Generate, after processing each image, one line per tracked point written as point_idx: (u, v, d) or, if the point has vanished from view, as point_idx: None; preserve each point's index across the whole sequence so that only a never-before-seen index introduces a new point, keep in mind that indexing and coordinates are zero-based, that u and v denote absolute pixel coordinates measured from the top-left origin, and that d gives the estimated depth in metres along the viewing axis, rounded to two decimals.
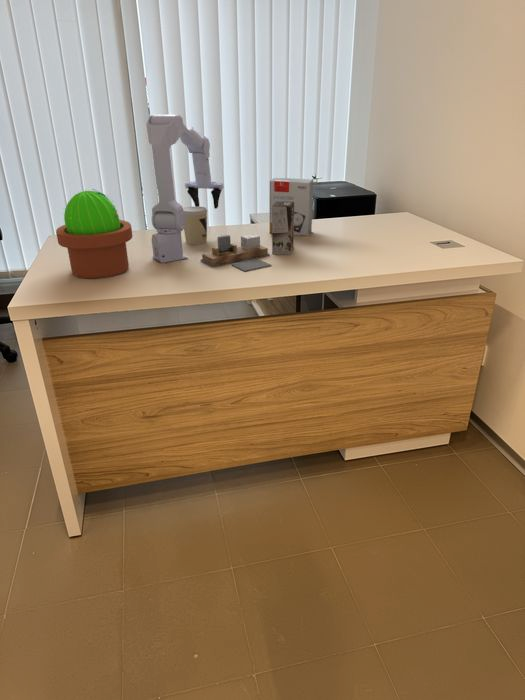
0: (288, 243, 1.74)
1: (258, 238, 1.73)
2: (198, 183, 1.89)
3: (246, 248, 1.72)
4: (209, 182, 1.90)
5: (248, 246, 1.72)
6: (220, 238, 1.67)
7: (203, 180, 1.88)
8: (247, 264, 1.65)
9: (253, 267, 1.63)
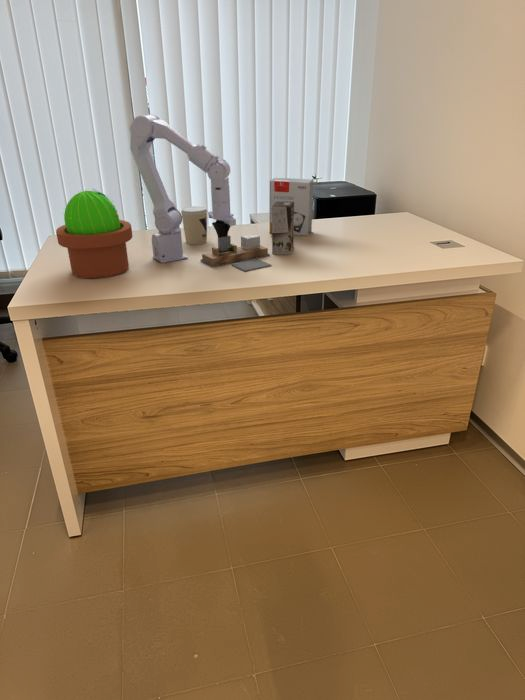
0: (288, 243, 1.74)
1: (258, 238, 1.73)
2: (212, 213, 1.64)
3: (246, 248, 1.72)
4: (223, 215, 1.63)
5: (248, 246, 1.72)
6: (220, 238, 1.66)
7: (216, 211, 1.62)
8: (247, 264, 1.65)
9: (253, 267, 1.63)
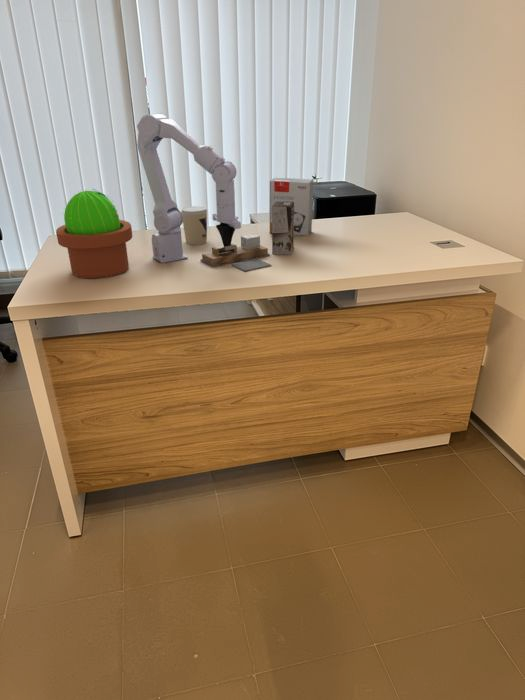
0: (288, 243, 1.74)
1: (258, 238, 1.73)
2: (217, 216, 1.62)
3: (246, 248, 1.72)
4: (227, 218, 1.60)
5: (248, 246, 1.72)
6: (226, 250, 1.65)
7: (220, 214, 1.60)
8: (247, 264, 1.65)
9: (253, 267, 1.63)
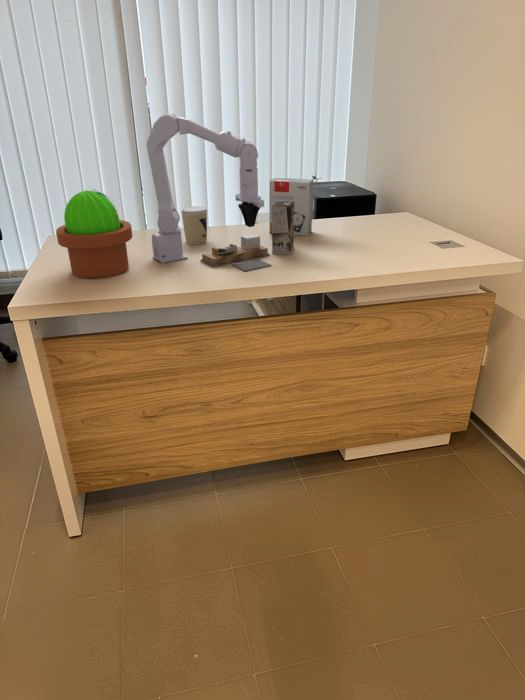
0: (288, 243, 1.74)
1: (258, 238, 1.73)
2: (240, 195, 1.67)
3: (246, 248, 1.72)
4: (251, 197, 1.65)
5: (248, 246, 1.72)
6: (226, 252, 1.66)
7: (244, 193, 1.65)
8: (247, 264, 1.65)
9: (253, 267, 1.63)
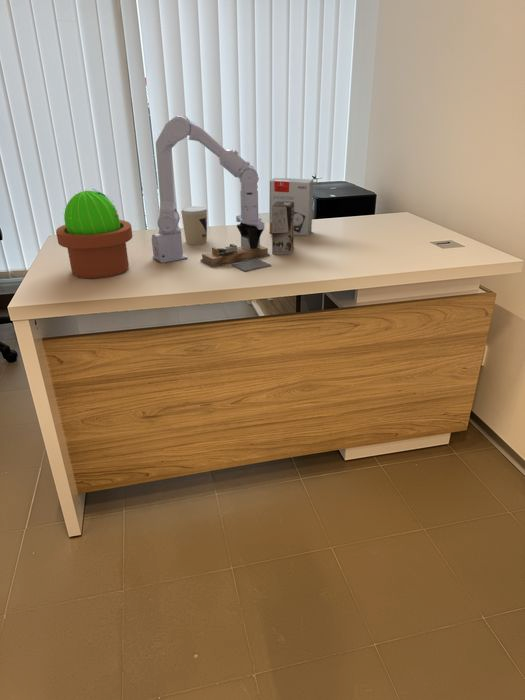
0: (288, 243, 1.74)
1: None
2: (241, 217, 1.70)
3: (246, 248, 1.72)
4: (251, 219, 1.68)
5: (248, 246, 1.72)
6: (226, 252, 1.66)
7: (245, 215, 1.68)
8: (247, 264, 1.65)
9: (253, 267, 1.63)
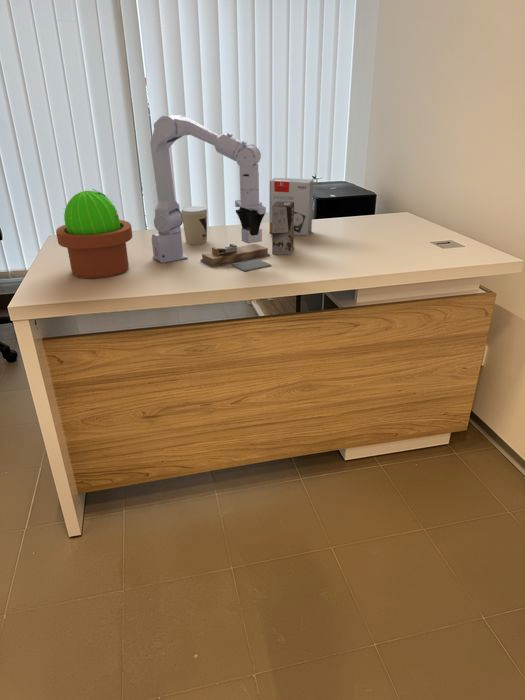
0: (288, 243, 1.74)
1: (260, 231, 1.62)
2: (240, 201, 1.57)
3: (247, 241, 1.61)
4: (252, 203, 1.56)
5: (249, 239, 1.61)
6: (226, 252, 1.66)
7: (244, 199, 1.55)
8: (247, 264, 1.65)
9: (253, 267, 1.63)
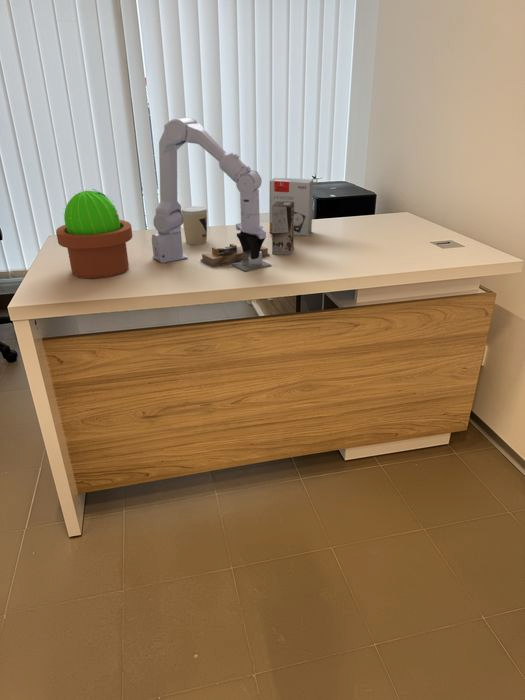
0: (288, 243, 1.74)
1: (260, 254, 1.63)
2: (241, 226, 1.59)
3: (247, 265, 1.63)
4: (252, 227, 1.57)
5: (250, 263, 1.63)
6: (226, 252, 1.66)
7: (245, 224, 1.57)
8: None
9: (253, 267, 1.63)
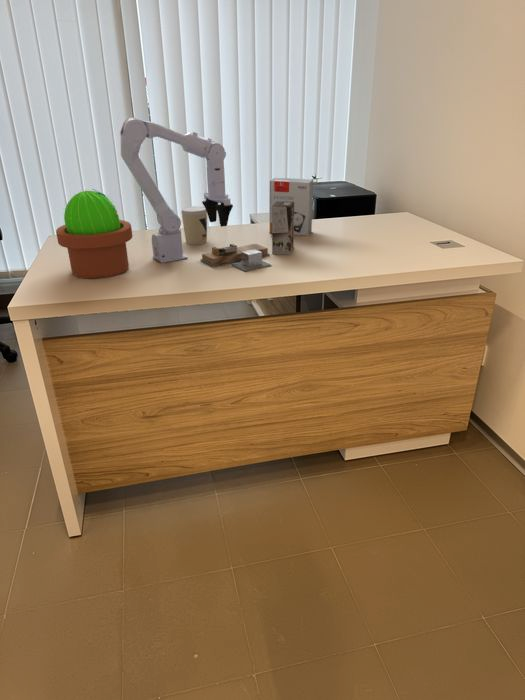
0: (288, 243, 1.74)
1: (260, 254, 1.63)
2: (208, 194, 1.70)
3: (247, 265, 1.63)
4: (218, 195, 1.68)
5: (250, 263, 1.63)
6: (226, 252, 1.66)
7: (211, 192, 1.68)
8: None
9: (253, 267, 1.63)
